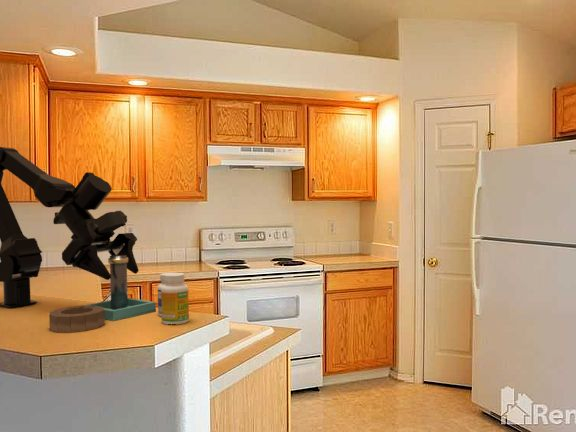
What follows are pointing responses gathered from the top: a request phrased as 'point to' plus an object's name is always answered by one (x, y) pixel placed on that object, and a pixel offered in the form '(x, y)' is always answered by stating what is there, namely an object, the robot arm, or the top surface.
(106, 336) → the top surface
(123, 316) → the tray
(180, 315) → the supplement bottle
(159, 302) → the pill bottle
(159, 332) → the top surface
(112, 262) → the steel pin
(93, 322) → the socket
